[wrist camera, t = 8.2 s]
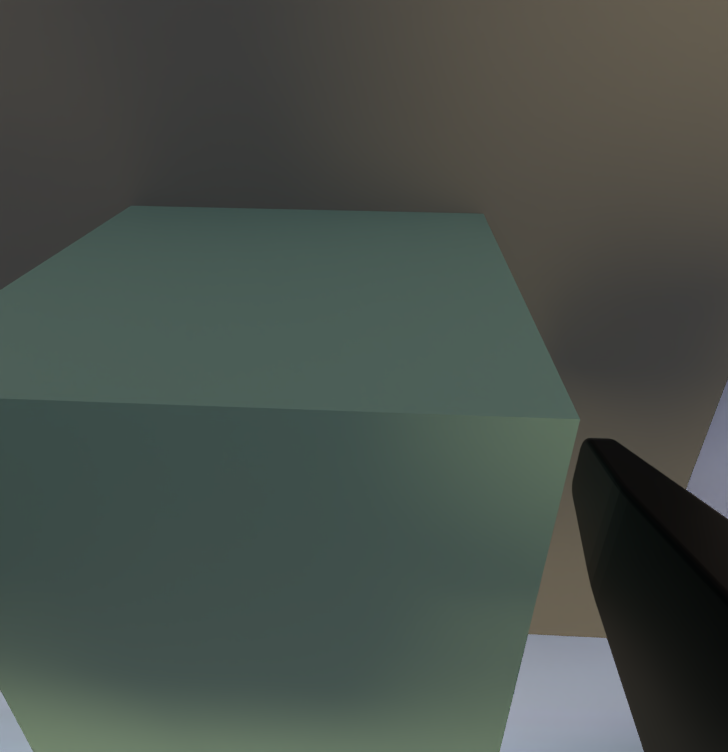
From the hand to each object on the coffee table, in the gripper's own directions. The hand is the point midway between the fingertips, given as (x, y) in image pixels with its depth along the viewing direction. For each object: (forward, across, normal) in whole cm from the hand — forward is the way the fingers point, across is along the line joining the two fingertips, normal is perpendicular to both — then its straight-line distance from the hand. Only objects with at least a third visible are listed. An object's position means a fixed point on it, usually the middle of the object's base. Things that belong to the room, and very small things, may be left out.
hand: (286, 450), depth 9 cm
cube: (+3, 0, 0) cm, 3 cm away
